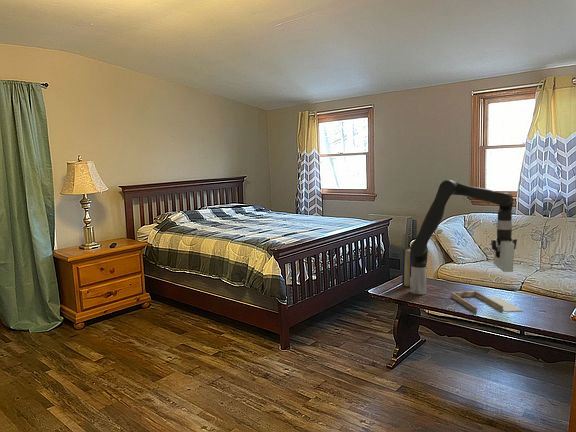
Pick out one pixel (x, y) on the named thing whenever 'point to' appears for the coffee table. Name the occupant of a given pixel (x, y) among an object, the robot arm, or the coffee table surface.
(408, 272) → the book
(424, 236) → the robot arm
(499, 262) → the skincare box
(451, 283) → the coffee table surface
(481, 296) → the wooden u-shaped frame
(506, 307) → the beige flat board
